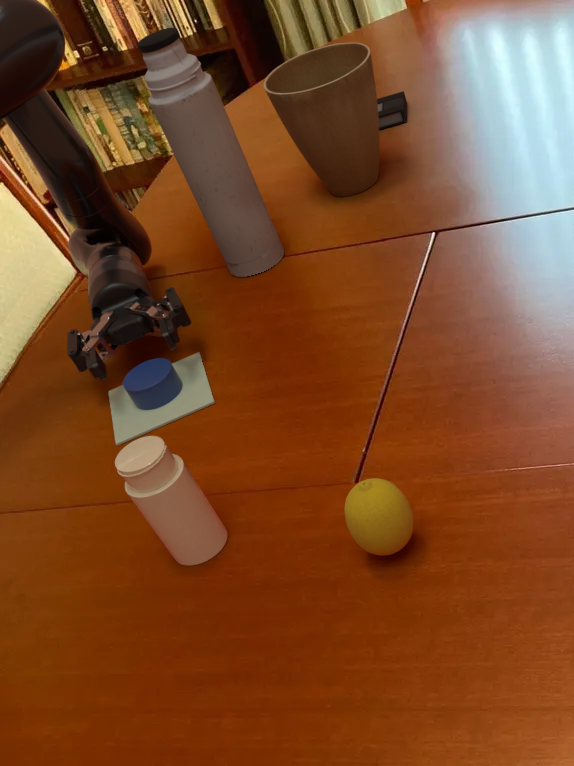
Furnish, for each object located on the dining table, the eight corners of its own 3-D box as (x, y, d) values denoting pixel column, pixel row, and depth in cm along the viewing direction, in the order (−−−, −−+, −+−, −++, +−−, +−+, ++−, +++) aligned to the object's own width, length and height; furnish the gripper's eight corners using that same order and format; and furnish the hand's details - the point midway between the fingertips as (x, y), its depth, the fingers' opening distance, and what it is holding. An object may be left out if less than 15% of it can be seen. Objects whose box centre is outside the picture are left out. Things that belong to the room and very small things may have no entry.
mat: (116, 446, 99) (115, 444, 99) (109, 393, 107) (108, 391, 107) (215, 403, 100) (214, 401, 99) (200, 353, 108) (199, 351, 108)
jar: (169, 571, 83) (103, 482, 74) (177, 530, 86) (115, 441, 78) (225, 557, 82) (165, 466, 74) (230, 517, 86) (173, 425, 77)
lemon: (354, 547, 78) (322, 482, 73) (407, 517, 79) (380, 450, 73) (378, 584, 75) (346, 518, 69) (434, 552, 75) (408, 484, 70)
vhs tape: (407, 122, 138) (403, 109, 137) (321, 147, 141) (316, 134, 139) (407, 104, 143) (403, 91, 142) (324, 128, 146) (319, 115, 144)
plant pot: (291, 215, 127) (244, 99, 115) (331, 164, 135) (291, 50, 123) (383, 206, 121) (343, 83, 109) (418, 153, 129) (385, 33, 118)
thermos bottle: (220, 268, 122) (112, 47, 101) (266, 239, 124) (170, 17, 103) (247, 283, 117) (139, 53, 96) (295, 253, 119) (200, 22, 98)
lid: (157, 374, 106) (145, 355, 104) (193, 379, 104) (181, 359, 102) (125, 407, 104) (112, 387, 101) (161, 412, 101) (148, 393, 99)
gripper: (188, 301, 113) (208, 360, 102) (84, 345, 112) (93, 410, 101) (159, 246, 107) (177, 303, 97) (50, 293, 107) (56, 355, 96)
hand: (134, 357), depth 99 cm, fingers open, 8 cm apart
